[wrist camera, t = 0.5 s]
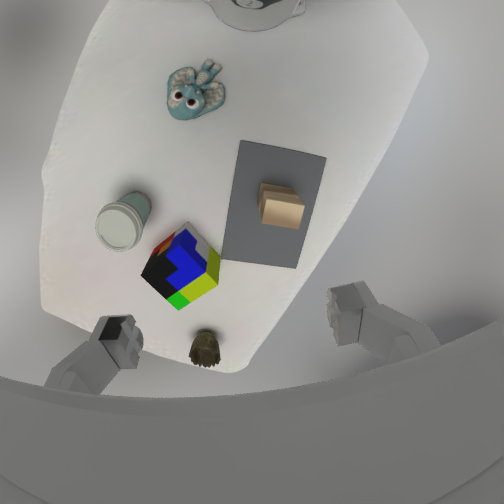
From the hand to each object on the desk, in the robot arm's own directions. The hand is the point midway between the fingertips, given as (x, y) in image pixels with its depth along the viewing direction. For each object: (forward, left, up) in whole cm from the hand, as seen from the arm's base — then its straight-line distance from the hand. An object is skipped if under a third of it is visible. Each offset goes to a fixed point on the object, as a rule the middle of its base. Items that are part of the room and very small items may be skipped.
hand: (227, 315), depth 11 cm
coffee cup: (+12, -17, -42) cm, 47 cm away
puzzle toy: (+21, -7, -42) cm, 47 cm away
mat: (+9, +9, -42) cm, 43 cm away
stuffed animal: (-11, -8, -42) cm, 44 cm away
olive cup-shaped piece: (+44, 0, -42) cm, 61 cm away
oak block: (+6, +9, -41) cm, 43 cm away
